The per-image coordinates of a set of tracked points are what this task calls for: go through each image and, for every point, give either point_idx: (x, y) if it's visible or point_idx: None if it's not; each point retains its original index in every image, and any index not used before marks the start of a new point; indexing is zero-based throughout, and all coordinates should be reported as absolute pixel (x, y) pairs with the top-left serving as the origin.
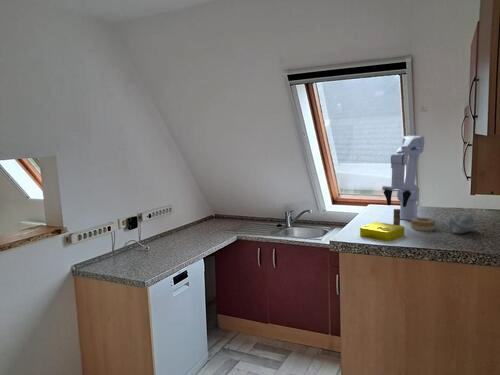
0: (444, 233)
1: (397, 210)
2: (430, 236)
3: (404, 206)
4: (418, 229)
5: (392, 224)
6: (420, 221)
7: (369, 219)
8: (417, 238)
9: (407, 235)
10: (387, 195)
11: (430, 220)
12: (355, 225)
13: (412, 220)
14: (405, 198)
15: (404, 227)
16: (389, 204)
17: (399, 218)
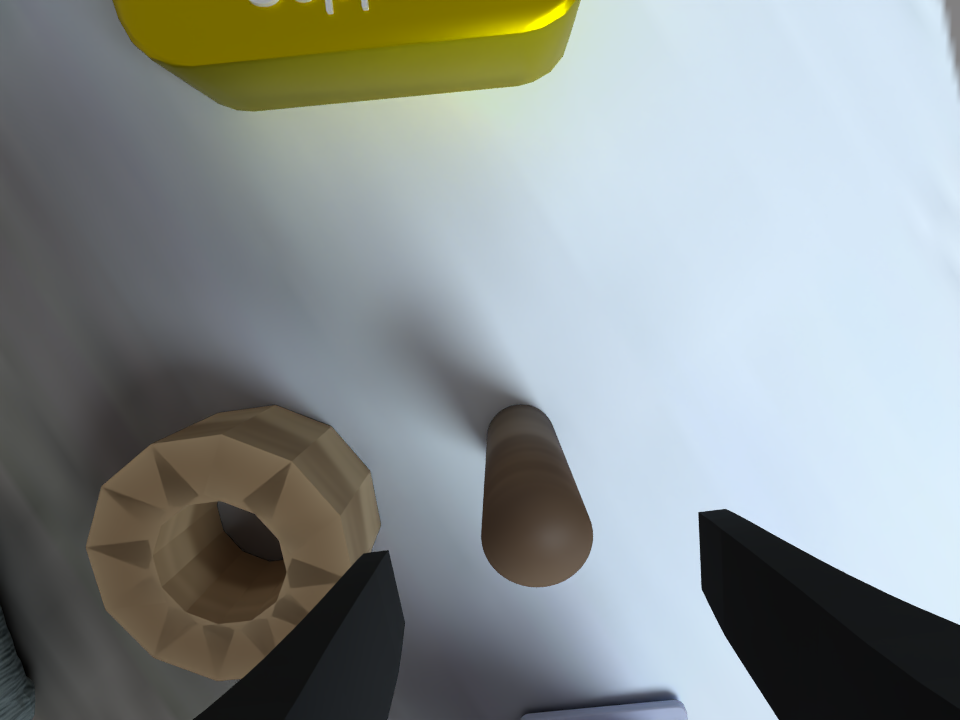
0: (23, 454)
1: (501, 494)
2: (23, 252)
3: (356, 564)
4: (247, 410)
5: (308, 24)
6: (185, 462)
7: (916, 494)
8: (44, 75)
9: (185, 116)
10: (951, 683)
11: (146, 587)
12: (895, 98)
13: (292, 459)
14: (211, 714)
15: (126, 31)
16: (709, 549)
17: (485, 470)
